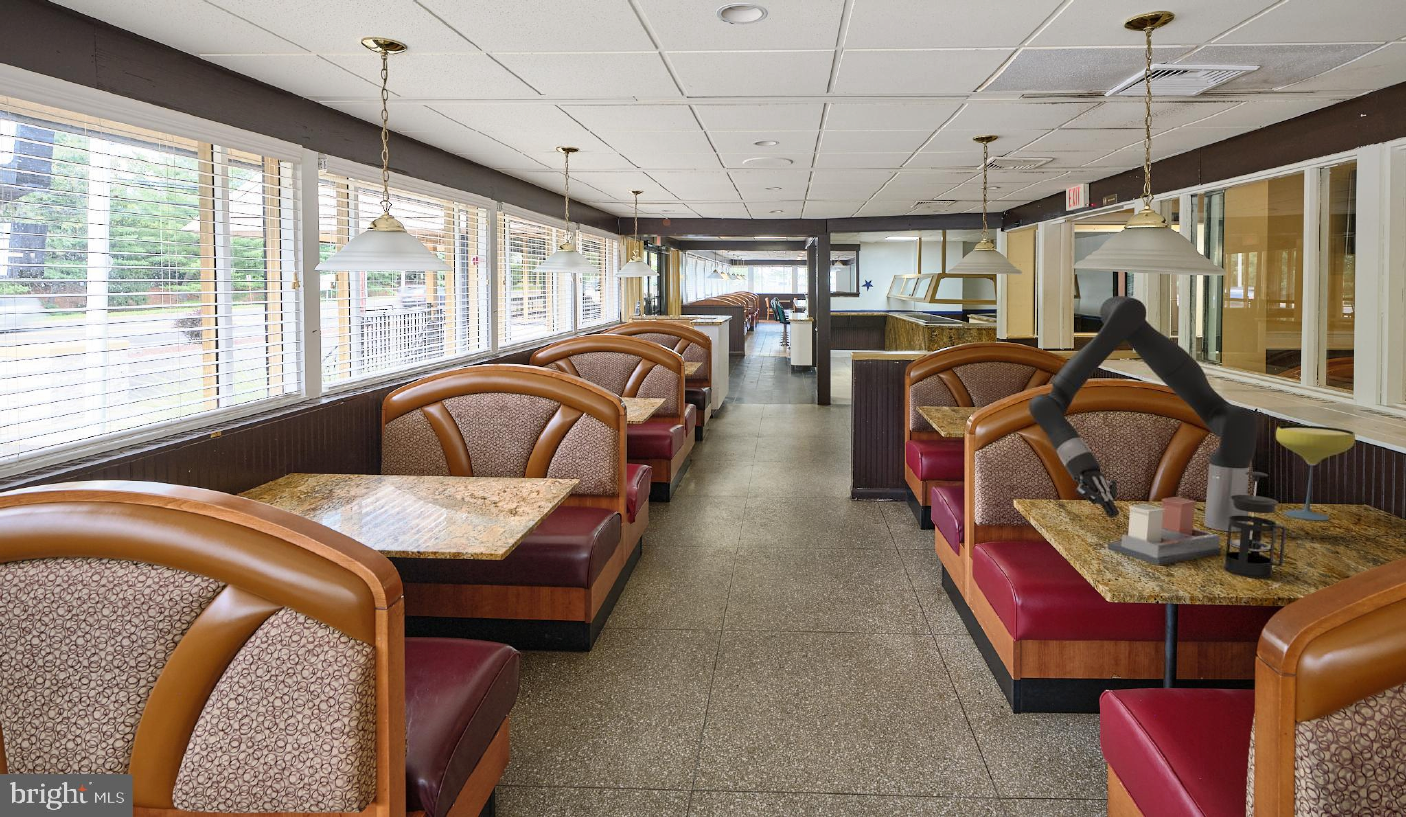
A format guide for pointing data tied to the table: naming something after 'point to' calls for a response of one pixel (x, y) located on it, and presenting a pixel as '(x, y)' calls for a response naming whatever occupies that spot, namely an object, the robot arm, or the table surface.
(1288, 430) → the cocktail glass
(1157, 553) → the dark grey tray
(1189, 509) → the pink boxy piece
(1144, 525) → the white tall block
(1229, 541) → the french press
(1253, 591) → the table surface
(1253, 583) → the table surface
